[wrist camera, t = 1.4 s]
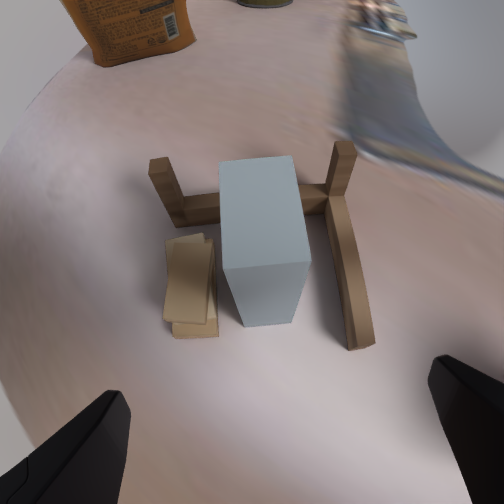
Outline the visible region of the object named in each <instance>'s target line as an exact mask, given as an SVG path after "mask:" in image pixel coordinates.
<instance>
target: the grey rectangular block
mask: <svg viewBox="0 0 504 504" xmlns="http://www.w3.org/2000/svg"><path fill="white" fill-rule="evenodd" d="M219 188H220V215H221V239H222V261H223V271H224V274H225V276H226V279H227V282H228V284H229V287H230V290H231V292H232V295H233V298H234V300H235V303H236V306H237V308H238V311H239V314H240V316H241V319H242V322H243V324H244V327H255V326H266V325H276V324H285V323H291V322H292V319H293V316H294V314H295V311H296V308H297V305H298V302H299V299H300V296H301V293H302V289H303V286H304V283H305V280H306V277H307V274H308V271H309V268H310V264H311V261H312V260H311V254H310V248H309V242H308V236H307V231H306V225H305V220H304V214H303V209H302V204H301V199H300V193H299V188H298V183H297V178H296V173H295V169H294V164H293V159H292V156H277V157H265V158H253V159H243V160H233V161H224V162H219Z"/></svg>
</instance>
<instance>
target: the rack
mask: <svg viewBox="0 0 504 504" xmlns="http://www.w3.org/2000/svg"><path fill="white" fill-rule="evenodd" d="M356 158H357V152H356V150H355V147H354V144H353V142H352V141H335V143H334V147H333V152H332V156H331V161H330V165H329V170H328V174H327V178H326V183H325V184H310V185H298V188H299V193H300V199H301V204H302V209H303V214H304V215H312V214H324V216H325V221H326V226H327V230H328V235H329V240H330V245H331V250H332V255H333V260H334V265H335V271H336V276H337V282H338V287H339V293H340V299H341V305H342V311H343V317H344V323H345V330H346V337H347V344H348V351H352V350H358V349H363V348H366V347H369V346H371V345H373V344H375V343H376V342H375V336H374V330H373V324H372V318H371V312H370V307H369V302H368V296H367V291H366V286H365V281H364V276H363V272H362V267H361V262H360V258H359V253H358V249H357V245H356V241H355V236H354V232H353V228H352V224H351V220H350V216H349V212H348V209H347V205H346V201H345V197H344V194H345V191H346V188H347V185H348V182H349V179H350V176H351V173H352V170H353V167H354V164H355V161H356ZM148 175H149V177H150V179H151V181H152V183H153V185H154V187H155V189H156V191H157V193H158V194H159V196H160V198H161V200H162V202H163V204H164V206H165V208H166V210H167V212H168V214H169V216H170V218H171V220H172V221H173V223H174V225H175V227H176V228H178V227H187V226H196V225H206V224H215V223H221V215H220V193H211V194H202V195H194V196H186V197H184V196H183V193H182V191H181V188H180V186H179V184H178V181H177V179H176V176H175V173H174V171H173V168H172V166H171V163H170V161H169V158H168V157H163V158H157V159H151V160H150V164H149V172H148Z"/></svg>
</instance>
